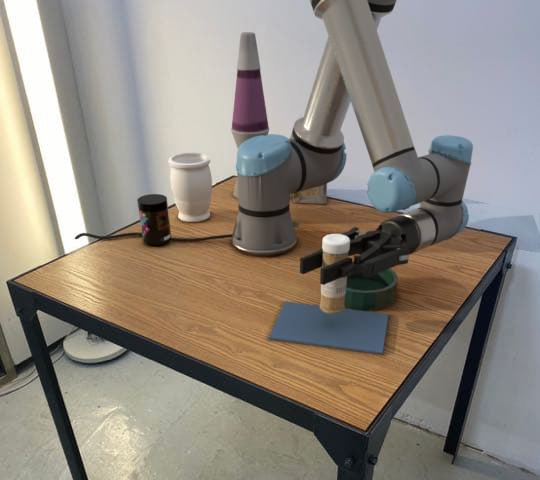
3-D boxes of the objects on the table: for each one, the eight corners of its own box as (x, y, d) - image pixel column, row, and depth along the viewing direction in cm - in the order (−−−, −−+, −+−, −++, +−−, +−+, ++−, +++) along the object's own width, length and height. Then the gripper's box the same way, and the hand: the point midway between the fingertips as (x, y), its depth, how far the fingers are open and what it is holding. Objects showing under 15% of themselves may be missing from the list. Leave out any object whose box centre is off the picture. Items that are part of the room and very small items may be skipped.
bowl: (322, 306, 110) (323, 288, 108) (332, 274, 121) (334, 257, 118) (392, 314, 107) (395, 296, 105) (397, 281, 118) (400, 264, 116)
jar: (211, 224, 143) (207, 164, 135) (171, 224, 144) (164, 164, 135) (216, 209, 152) (212, 151, 143) (177, 209, 152) (171, 151, 143)
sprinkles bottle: (337, 300, 104) (342, 231, 96) (349, 312, 100) (355, 241, 93) (315, 305, 103) (318, 234, 95) (325, 317, 99) (329, 245, 91)
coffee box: (327, 196, 159) (330, 137, 150) (325, 205, 154) (328, 144, 145) (294, 195, 161) (296, 136, 151) (291, 203, 155) (292, 142, 146)
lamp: (275, 198, 159) (275, 34, 135) (237, 202, 156) (231, 36, 133) (264, 186, 167) (263, 29, 144) (229, 189, 165) (221, 31, 141)
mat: (268, 339, 101) (268, 337, 100) (285, 303, 111) (285, 301, 111) (382, 354, 97) (382, 352, 96) (388, 316, 107) (388, 313, 107)
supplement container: (153, 234, 139) (147, 192, 133) (177, 238, 137) (172, 196, 130) (137, 245, 134) (131, 202, 127) (162, 249, 131) (157, 206, 125)
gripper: (439, 269, 102) (347, 311, 90) (368, 239, 113) (277, 273, 101) (446, 229, 98) (351, 268, 86) (371, 202, 109) (277, 234, 97)
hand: (311, 271), depth 93 cm, fingers closed on sprinkles bottle, 4 cm apart
